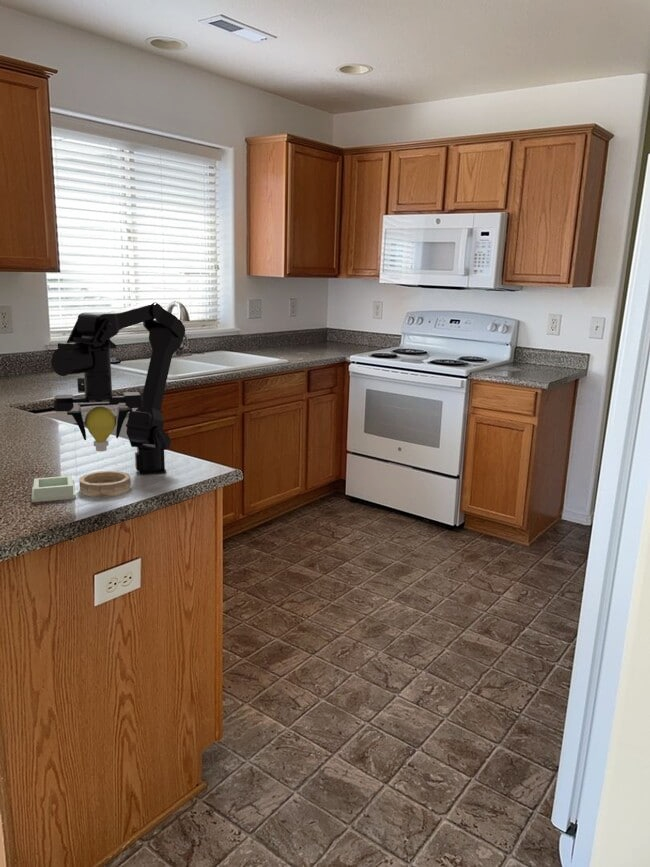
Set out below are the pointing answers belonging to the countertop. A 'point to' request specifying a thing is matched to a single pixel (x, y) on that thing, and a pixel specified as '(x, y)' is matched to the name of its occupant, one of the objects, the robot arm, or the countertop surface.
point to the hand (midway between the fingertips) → (101, 438)
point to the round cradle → (104, 483)
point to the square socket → (53, 489)
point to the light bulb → (100, 426)
